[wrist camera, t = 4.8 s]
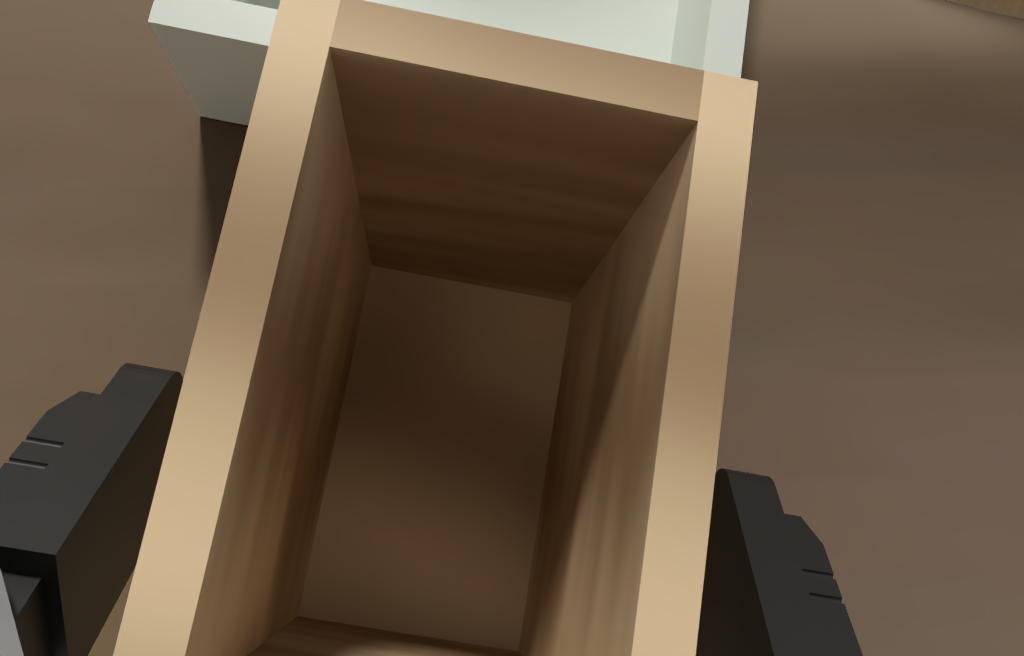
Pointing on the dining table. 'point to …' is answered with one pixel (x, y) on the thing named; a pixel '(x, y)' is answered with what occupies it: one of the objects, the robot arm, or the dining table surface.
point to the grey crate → (496, 3)
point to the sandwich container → (996, 6)
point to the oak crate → (453, 353)
